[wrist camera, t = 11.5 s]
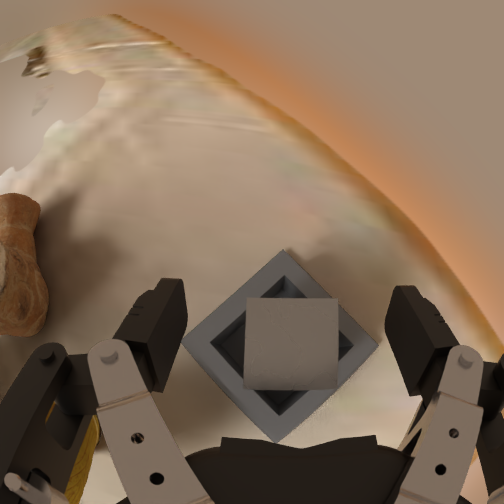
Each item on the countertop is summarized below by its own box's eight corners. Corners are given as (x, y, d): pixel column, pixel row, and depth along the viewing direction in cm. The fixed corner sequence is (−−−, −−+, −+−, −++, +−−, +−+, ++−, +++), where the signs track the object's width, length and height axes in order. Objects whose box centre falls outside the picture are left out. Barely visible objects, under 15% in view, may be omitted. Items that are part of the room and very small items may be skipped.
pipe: (52, 203, 31) (5, 162, 22) (79, 322, 26) (10, 302, 17) (8, 238, 30) (-40, 207, 21) (27, 352, 25) (-37, 341, 16)
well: (275, 441, 21) (276, 461, 16) (182, 341, 25) (161, 337, 20) (375, 345, 24) (400, 342, 19) (282, 252, 27) (285, 228, 22)
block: (305, 372, 23) (337, 388, 11) (256, 372, 23) (243, 389, 12) (306, 324, 24) (338, 298, 13) (258, 324, 24) (246, 297, 13)
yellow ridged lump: (152, 427, 22) (45, 476, 8) (130, 488, 20) (39, 552, 6) (61, 369, 24) (-54, 358, 10) (46, 429, 22) (-58, 442, 8)
